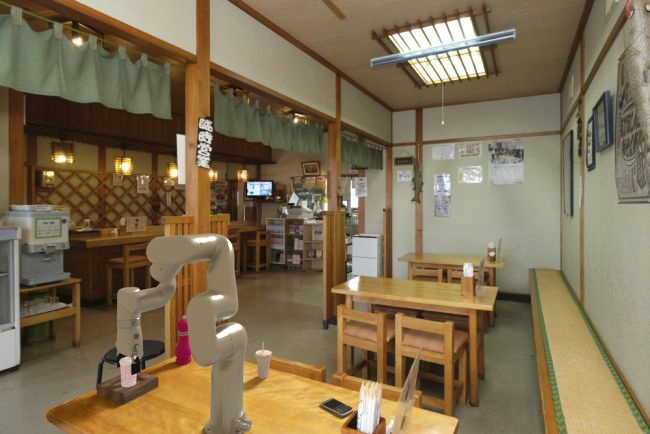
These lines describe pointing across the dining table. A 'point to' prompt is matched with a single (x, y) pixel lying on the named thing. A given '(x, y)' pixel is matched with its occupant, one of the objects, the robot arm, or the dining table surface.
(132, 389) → the walnut tray
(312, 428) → the dining table surface
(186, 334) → the pepper mill
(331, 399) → the cell phone
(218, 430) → the robot arm
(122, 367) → the beverage cup
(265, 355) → the smoothie
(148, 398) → the dining table surface
